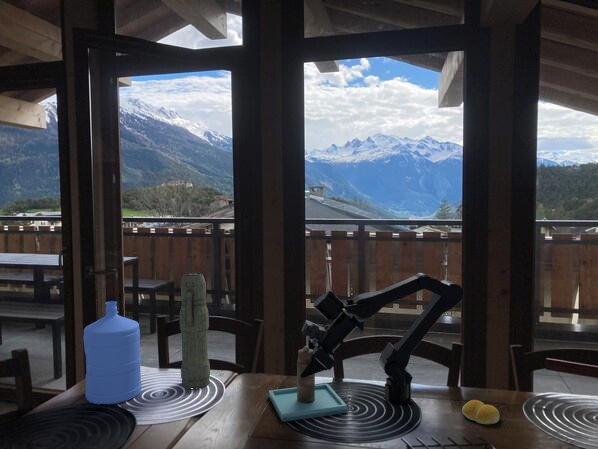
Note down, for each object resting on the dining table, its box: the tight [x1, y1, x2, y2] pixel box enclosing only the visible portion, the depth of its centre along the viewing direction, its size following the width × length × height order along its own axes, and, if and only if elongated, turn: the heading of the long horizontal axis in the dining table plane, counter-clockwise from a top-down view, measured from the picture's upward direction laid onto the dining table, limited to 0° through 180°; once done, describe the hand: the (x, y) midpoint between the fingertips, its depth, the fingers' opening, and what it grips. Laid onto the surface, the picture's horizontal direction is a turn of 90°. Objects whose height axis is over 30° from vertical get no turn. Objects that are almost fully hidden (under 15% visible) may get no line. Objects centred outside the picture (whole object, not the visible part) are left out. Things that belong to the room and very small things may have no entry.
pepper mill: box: [296, 345, 316, 403], centre depth 134 cm, size 5×5×15 cm
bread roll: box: [461, 399, 501, 425], centre depth 125 cm, size 8×9×4 cm
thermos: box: [179, 272, 211, 390], centre depth 149 cm, size 9×12×35 cm
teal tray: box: [268, 383, 348, 423], centre depth 133 cm, size 18×16×2 cm
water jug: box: [82, 300, 142, 405], centre depth 141 cm, size 16×16×28 cm
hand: (300, 370), depth 134 cm, fingers open, 9 cm apart
